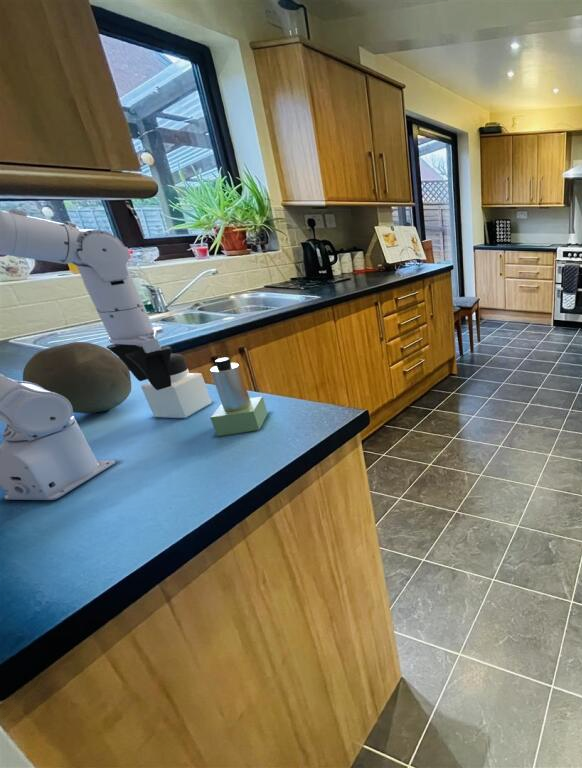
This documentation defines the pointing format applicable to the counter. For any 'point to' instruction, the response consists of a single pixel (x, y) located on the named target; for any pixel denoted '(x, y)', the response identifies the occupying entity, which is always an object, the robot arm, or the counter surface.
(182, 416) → the medicine bottle
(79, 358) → the cantaloupe
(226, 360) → the flask
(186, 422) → the counter surface
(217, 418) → the block
